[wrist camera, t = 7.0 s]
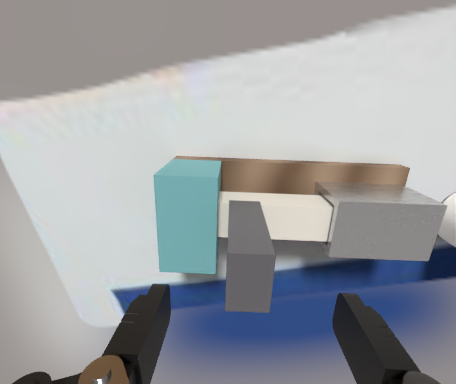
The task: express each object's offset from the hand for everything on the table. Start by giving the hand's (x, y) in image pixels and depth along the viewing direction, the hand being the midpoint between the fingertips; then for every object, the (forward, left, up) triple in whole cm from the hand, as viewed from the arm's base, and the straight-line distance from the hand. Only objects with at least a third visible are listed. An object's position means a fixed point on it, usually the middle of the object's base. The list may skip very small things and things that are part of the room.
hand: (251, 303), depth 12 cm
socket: (+4, 0, -13) cm, 14 cm away
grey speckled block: (-11, 0, -13) cm, 17 cm away
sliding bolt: (-2, 0, -12) cm, 12 cm away
